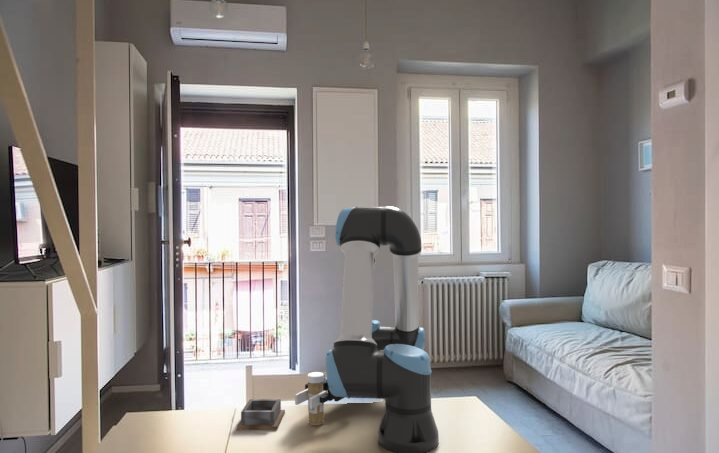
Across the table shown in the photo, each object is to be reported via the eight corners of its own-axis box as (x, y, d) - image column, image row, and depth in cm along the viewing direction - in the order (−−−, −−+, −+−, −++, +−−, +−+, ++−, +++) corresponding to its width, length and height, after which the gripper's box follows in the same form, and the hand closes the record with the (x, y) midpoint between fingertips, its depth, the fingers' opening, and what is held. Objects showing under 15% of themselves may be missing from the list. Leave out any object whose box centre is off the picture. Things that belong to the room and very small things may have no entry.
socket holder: (284, 413, 131) (284, 397, 131) (277, 430, 120) (276, 413, 120) (247, 413, 131) (247, 397, 131) (236, 430, 120) (236, 413, 120)
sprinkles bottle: (327, 423, 123) (326, 374, 123) (312, 427, 120) (312, 377, 120) (319, 417, 127) (318, 370, 127) (305, 421, 124) (304, 373, 124)
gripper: (376, 394, 134) (329, 423, 114) (330, 384, 143) (279, 408, 124) (376, 369, 134) (329, 393, 114) (329, 360, 143) (279, 381, 124)
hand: (303, 401), depth 119 cm, fingers closed on sprinkles bottle, 4 cm apart
